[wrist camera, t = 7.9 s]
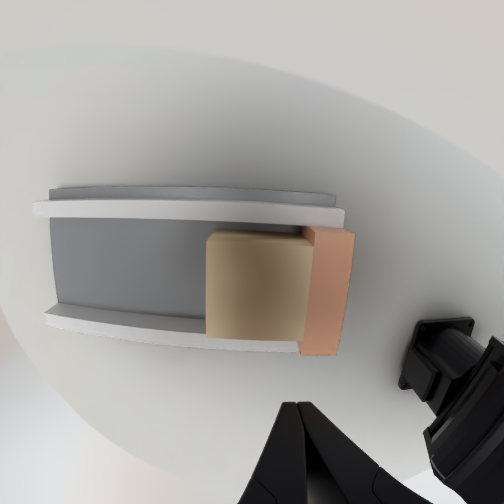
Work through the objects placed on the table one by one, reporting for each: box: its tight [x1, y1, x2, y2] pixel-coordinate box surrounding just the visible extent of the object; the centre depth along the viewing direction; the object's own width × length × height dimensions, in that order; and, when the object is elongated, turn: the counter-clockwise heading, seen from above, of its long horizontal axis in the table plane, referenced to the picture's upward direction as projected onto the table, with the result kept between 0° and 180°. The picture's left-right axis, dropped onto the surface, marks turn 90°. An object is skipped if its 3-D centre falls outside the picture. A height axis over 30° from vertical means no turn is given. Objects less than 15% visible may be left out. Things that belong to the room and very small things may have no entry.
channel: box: [32, 186, 355, 356], centre depth 17 cm, size 19×10×5 cm, turn 87°
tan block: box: [206, 229, 314, 341], centre depth 17 cm, size 5×5×4 cm
